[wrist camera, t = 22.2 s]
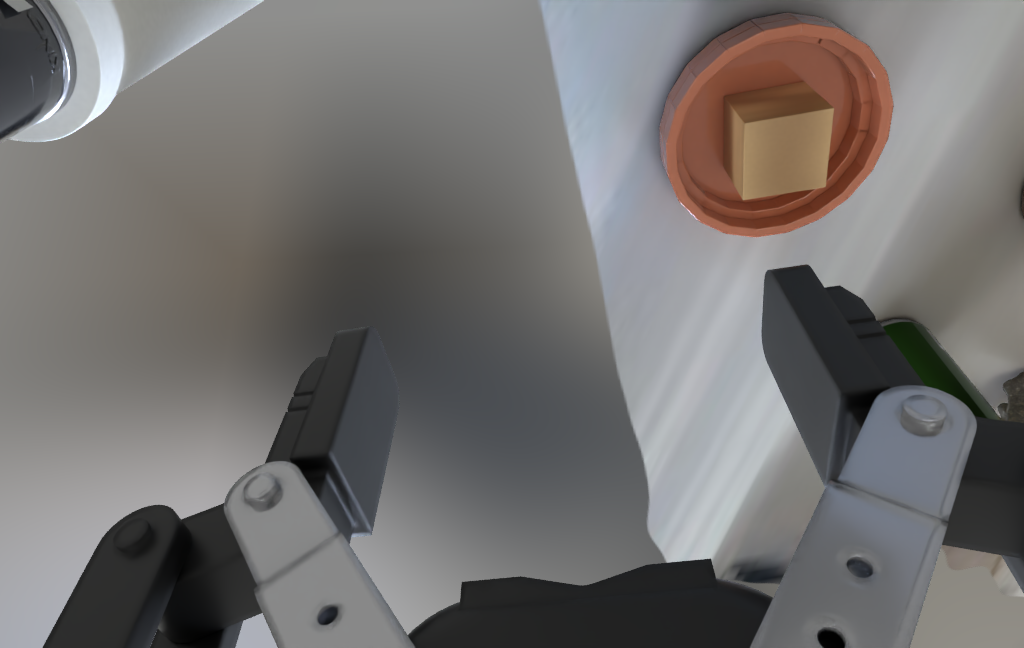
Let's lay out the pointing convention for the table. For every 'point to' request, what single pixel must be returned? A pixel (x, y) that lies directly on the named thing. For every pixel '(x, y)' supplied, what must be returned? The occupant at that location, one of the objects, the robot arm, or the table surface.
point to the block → (777, 140)
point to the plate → (763, 64)
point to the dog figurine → (1013, 400)
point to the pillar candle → (1023, 203)
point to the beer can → (936, 364)
